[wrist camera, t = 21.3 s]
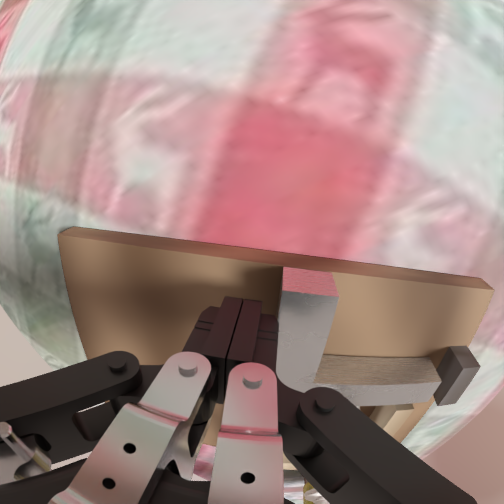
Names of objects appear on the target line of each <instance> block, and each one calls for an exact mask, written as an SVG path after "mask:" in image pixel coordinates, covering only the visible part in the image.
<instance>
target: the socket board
mask: <svg viewBox="0 0 504 504" xmlns="http://www.w3.org/2000/svg"><path fill="white" fill-rule="evenodd" d="M57 235H58V243H59V249H60V256H61V261H62V267H63V272H64V277H65V282H66V287H67V291H68V295H69V300H70V304H71V307H72V311H73V315H74V319H75V322H76V326H77V329H78V332H79V336H80V339H81V342H82V345H83V348H84V351H85V354H86V357H87V359H88V360H89V359H92V358H95V357H98V356H101V355H104V354H107V353H109V352H113V351H126V352H129V353H132V354H133V355H135V356H136V357H137V359H138V360H139V364H140V365H162V364H165V363H166V361H167V360H168V359H169V358H170V357H171V356H173V355H174V354H177V353H180V352H182V350H183V348H184V346H185V344H186V342H187V340H188V338H189V336H190V334H191V332H192V330H193V329H194V326H195V324H196V322H197V321H198V318H199V316H200V314H201V312H202V311H204V310H205V309H207V308H208V307H209V306H214V307H220V306H221V304H222V302H223V299H224V297H225V296H230V297H237V298H243V299H252V300H259V301H263V303H262V311H261V313H262V314H270V315H275V317H276V313H277V306H278V300H279V294H280V287H281V281H282V274H283V267H290V268H298V269H306V270H314V271H322V272H330V273H332V275H333V278H334V281H335V285H336V288H337V291H338V294H339V300H338V304H337V308H336V311H335V315H334V318H333V322H332V325H331V329H330V332H329V336H328V339H327V342H326V345H325V348H324V352H323V355H334V356H351V357H377V358H424V357H429V358H430V359H431V361H432V363H433V365H434V367H435V369H436V371H437V373H438V375H439V377H440V379H441V381H442V382H441V383H440V385H439V386H438V388H437V389H436V391H435V392H434V394H433V395H432V397H431V398H430V400H429V401H428V402H421V403H411V404H399V405H381V406H360V410H361V411H362V412H363V413H364V414H365V415H367V416H368V417H369V418H370V419H371V420H372V421H374V422H375V423H376V424H377V425H378V426H380V427H381V428H382V429H383V430H384V431H386V432H387V433H388V434H389V435H391V436H392V437H393V438H394V439H396V440H397V441H398V442H399V443H401V442H402V440H403V439H404V438H405V437H406V436H407V435H408V434H409V432H410V431H411V430H412V429H413V428H414V426H415V425H416V424H417V423H418V422H419V420H420V419H421V418H422V417H423V415H424V414H425V413H426V411H427V410H428V409H429V407H430V406H431V405H432V403H433V402H434V401H436V403H437V406H442V405H448V404H454V403H456V402H457V400H458V399H459V398H460V396H461V395H462V394H463V392H464V391H465V389H466V388H467V387H468V385H469V384H470V382H471V381H472V379H473V378H474V376H475V375H476V373H477V372H478V370H479V368H480V365H479V363H478V362H477V360H476V359H475V357H474V356H473V354H472V353H471V351H470V350H469V348H468V347H469V345H470V343H471V341H472V339H473V337H474V335H475V333H476V331H477V329H478V327H479V325H480V323H481V321H482V319H483V316H484V314H485V312H486V310H487V307H488V305H489V303H490V300H491V298H492V296H493V293H494V289H493V288H492V287H491V286H489V285H488V284H487V283H486V282H485V281H484V280H483V279H481V278H474V277H466V276H459V275H452V274H444V273H437V272H429V271H422V270H414V269H406V268H399V267H391V266H384V265H376V264H368V263H361V262H353V261H345V260H338V259H330V258H322V257H314V256H307V255H299V254H291V253H283V252H275V251H267V250H259V249H252V248H244V247H236V246H228V245H220V244H212V243H204V242H196V241H188V240H180V239H172V238H163V237H155V236H147V235H139V234H131V233H123V232H114V231H106V230H98V229H90V228H81V227H72V228H70V229H68V230H65V231H63V232H61V233H59V234H57ZM107 402H109V400H108V401H105V403H107ZM224 404H225V400H224V403H223V404H218V403H216V405H215V408H214V412H213V414H212V420H211V423H210V426H209V428H208V431H207V433H206V436H205V438H204V441H203V443H202V444H206V445H211V446H216V445H217V439H218V433H219V430H220V429H221V424H222V417H223V411H224ZM283 469H286V470H297V469H296V468H295V467H294V466H293V465H292V463H291V462H290V461H289V460H288V459H287V458H286V456H285V455H284V452H283Z"/></svg>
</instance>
